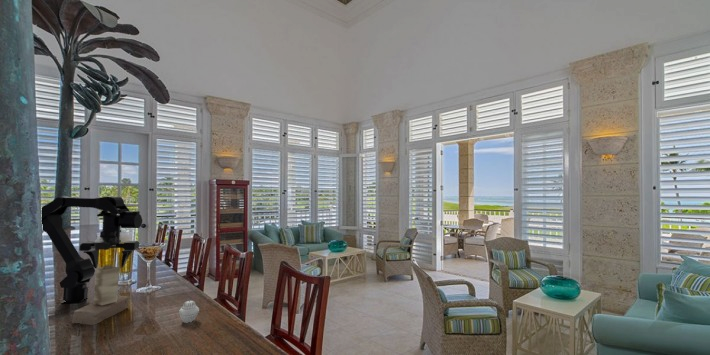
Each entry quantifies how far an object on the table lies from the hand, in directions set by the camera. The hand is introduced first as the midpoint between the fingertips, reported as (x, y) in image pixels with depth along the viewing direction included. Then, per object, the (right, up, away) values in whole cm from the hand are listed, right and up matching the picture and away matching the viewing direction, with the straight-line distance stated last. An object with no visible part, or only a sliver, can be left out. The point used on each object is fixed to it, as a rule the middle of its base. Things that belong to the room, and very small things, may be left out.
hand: (109, 267), depth 133 cm
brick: (+8, -13, -14) cm, 21 cm away
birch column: (+9, -9, -14) cm, 18 cm away
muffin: (+40, -14, -17) cm, 45 cm away
